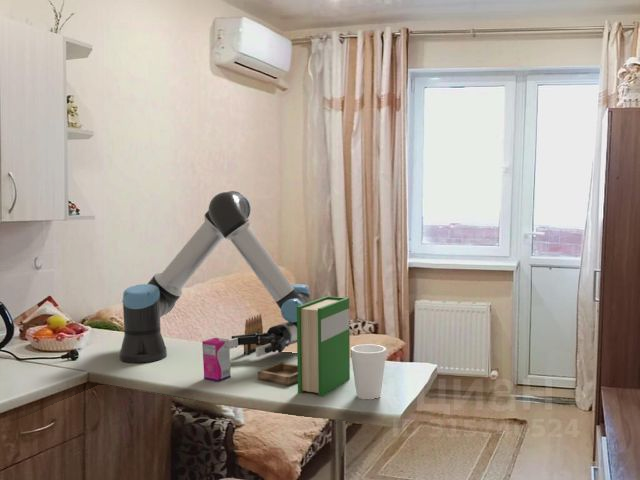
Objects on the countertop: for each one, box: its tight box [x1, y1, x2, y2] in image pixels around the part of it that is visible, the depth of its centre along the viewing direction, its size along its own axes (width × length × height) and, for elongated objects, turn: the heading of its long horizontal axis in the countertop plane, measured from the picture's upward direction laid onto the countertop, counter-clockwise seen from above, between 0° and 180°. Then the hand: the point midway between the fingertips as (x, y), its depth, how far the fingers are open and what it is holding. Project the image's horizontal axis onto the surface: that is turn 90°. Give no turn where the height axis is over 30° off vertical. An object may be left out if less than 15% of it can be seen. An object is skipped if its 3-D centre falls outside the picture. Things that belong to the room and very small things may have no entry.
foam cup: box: [350, 343, 387, 400], centre depth 180 cm, size 10×9×13 cm
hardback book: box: [296, 295, 351, 398], centre depth 188 cm, size 18×7×24 cm, turn 152°
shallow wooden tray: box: [257, 361, 298, 387], centre depth 197 cm, size 11×11×2 cm
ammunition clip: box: [243, 313, 264, 356], centre depth 228 cm, size 11×2×12 cm, turn 155°
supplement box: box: [201, 337, 232, 383], centre depth 198 cm, size 6×6×12 cm
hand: (239, 349), depth 206 cm, fingers open, 13 cm apart
